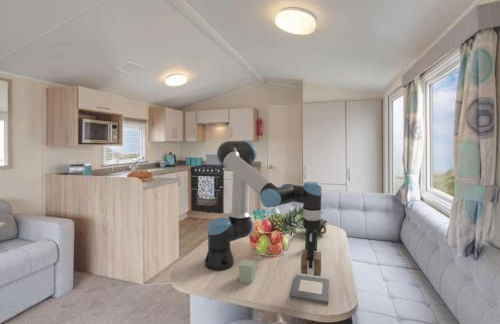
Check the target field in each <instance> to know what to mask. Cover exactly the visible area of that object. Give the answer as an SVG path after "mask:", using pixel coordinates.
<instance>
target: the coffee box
mask: <svg viewBox="0 0 500 324" xmlns="http://www.w3.org/2000/svg"><path fill="white" fill-rule="evenodd" d="M307 230H308V229H306V230H305V238H304V240H305V242H304V243H305V244H304V245H305V246H304V250H305V251H307V250H308V242H307ZM316 231H317V235H316V243H315V246H316V247H315V249H318V229H317V230H316Z"/></svg>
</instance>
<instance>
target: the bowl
mask: <svg viewBox="0 0 500 324" xmlns="http://www.w3.org/2000/svg"><path fill="white" fill-rule="evenodd" d="M320 220H321V228H320V229H318V235H324V234H326V233H327V224H328V220H326V219H325V218H322V217H321V218H320ZM304 230H305V231H306V228H305V229H304ZM322 230H323V231H322Z"/></svg>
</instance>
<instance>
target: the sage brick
mask: <svg viewBox="0 0 500 324" xmlns="http://www.w3.org/2000/svg"><path fill="white" fill-rule="evenodd" d="M238 266H239V267H238V269H239V271H238V272H239V274H238V275H239V278H238V279H239V281H238V282H240V283H243V284H244V283H245V284H250V285H251V284H253V283H254V281H255V279H256V261H255V260H249V259H245V258H244V259H242V261H241V262H240V263H239V265H238Z"/></svg>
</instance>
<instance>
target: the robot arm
mask: <svg viewBox="0 0 500 324" xmlns="http://www.w3.org/2000/svg"><path fill="white" fill-rule="evenodd" d="M216 158H217V159H218V162H219V163H220V165H222V166H223V167H224V168H225V169H227V170H228V169H229V170H231V171H232V193H231V194H232V195H231V196H232V197H231V198H232V199H231V211H230V212H229V213H228V217H217V218H214V219H212V220H211V221H209V223H208V225H207V247H208V248H207V253H206V256H205V259H204V266H205V267H206V268H207V269H209V270H212V271H224V270H228V269H229V268H232V267H233V266H234V265H235V264H234V262H235V261H234V260H235V259H234V256H233V253H232V250H231V242H234V241H237V240H240V239H243V238H246V237H247V236H250V235H251V234H252V233H253V230H254V220H253V218H252V217H251V215H250V213H249V212H248V200H249V199H248V197H249V193H248V192H249V187H250V188H251V189H252V191H255V193H256V194H257V195H259V198H260V202H261V203H262V205H263V206H264V207H266V208H274V207H275V208H276V207H278V206H281V205H286V204H290V203H298V204H302V217H303V218H304V219H303V218H302V219H303V223H302V227H303V229H304V228H306V229H308V230H307V242H308V250H306V251H307V258H306V260H307V275H306V276H312V277H315V276H314V252H318V248H315V247H316V246H315V243H316V235H317V231H316V230H317V229H320V228H321V220H320V218H321V219H322V214H323V211H322V194H323V193H322V185H321V183H319V182H316V181H305V182H304V183H303V185H297V184H291V183H283V184H282V185H281V186H279V187H278V186H276V185H275V184H274V183H272V182H271V181H270V180H269V179H268V178H267V177H265V176H264V175H262V174H261V173H260V172H259V171H257V170H256V168H254V167H253V162H254V161H255V160H256V159H257V149H256V146H255V145H254V144H253V143H252V142H250V141H247V140H246V141H245V140H239V141H237V140H236V141H231V140H230V141H229V140H228V141H224V142H223V143H221V144H220V145H219V146H218V148H217V151H216Z"/></svg>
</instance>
